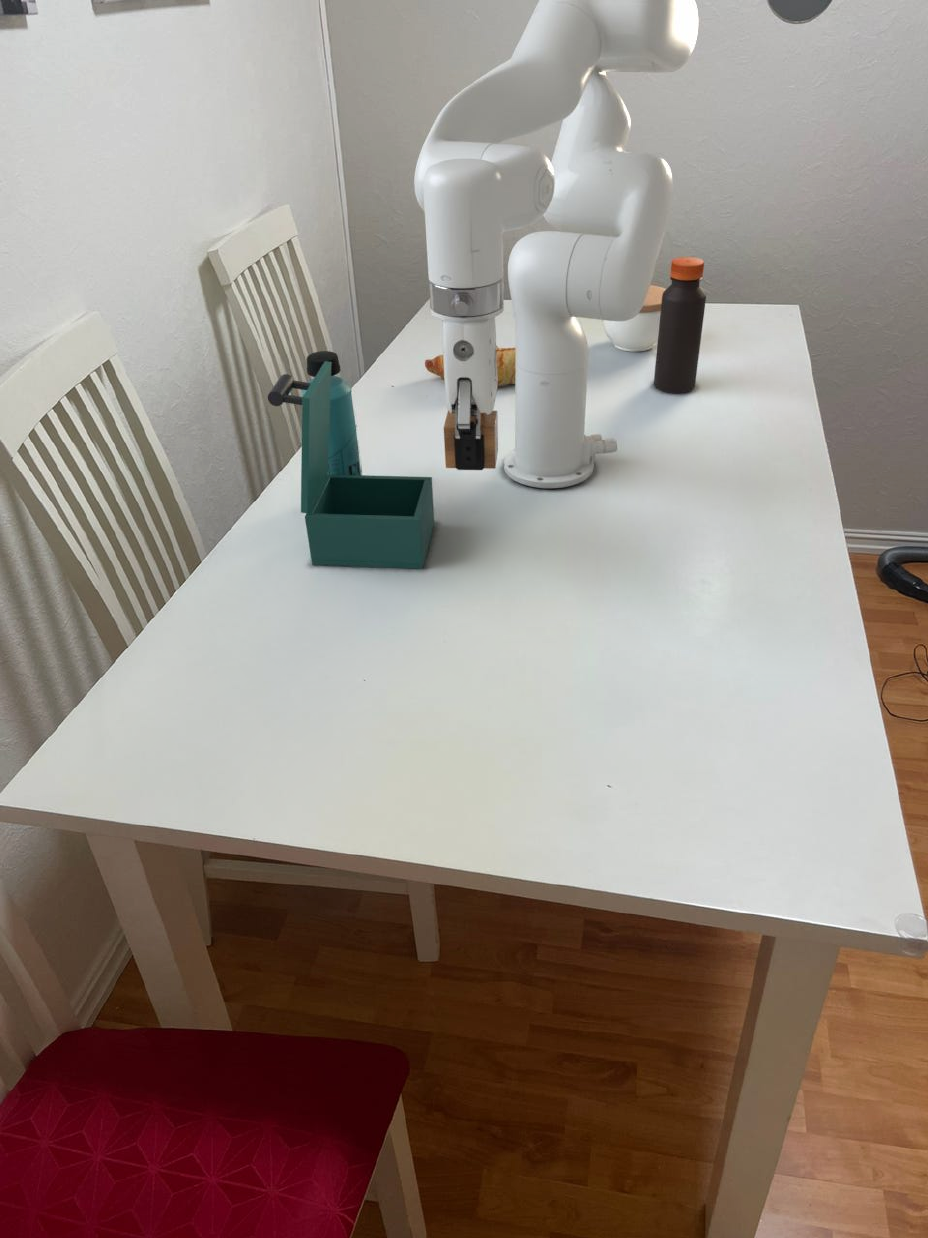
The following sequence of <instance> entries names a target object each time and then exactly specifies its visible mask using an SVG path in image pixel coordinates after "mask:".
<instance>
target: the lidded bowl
mask: <svg viewBox="0 0 928 1238" xmlns="http://www.w3.org/2000/svg"><path fill="white" fill-rule="evenodd" d="M666 289H667V288H664V287H661V286H658V285H651V284H650V287H649V290H648V294H647V297H646V299H645V302H644V304H643V306H642V309H641V310H640V312H639V313H638V314H637V315H636V316H635V317H634V318H632V319H630V320H627V321H608V320H601V322H602V327H603V331H604V333H605V335H606V336H607V338H608V339H609V340H610V342H612V343H613V346H614V348H615V349H618V350H620V351H624V352H631V353H634V352H635V353H636V352H637V353H638V352H645V351H649V350H651V349H652V348H653V347H654V345H656V343H658V333H659V323H660V313H661V302H662V295H663V292H664V291H665V290H666Z"/></svg>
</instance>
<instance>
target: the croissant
mask: <svg viewBox="0 0 928 1238" xmlns="http://www.w3.org/2000/svg"><path fill="white" fill-rule="evenodd" d="M496 352H497V374H498V385H497V387H502V386H507V385H515V365H516V347H506V348H505V347H499V346H498V345H497V344H496ZM424 366H425V368H426V370H427V372H429V373H431V374H434V375H436V376H437V377H440V378H441V379H442V380H444V381H445V379H444V362H443V354H439V355H437V356H435V357H434V358H433V359H429V358H428V359H425V361H424Z"/></svg>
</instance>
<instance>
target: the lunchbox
mask: <svg viewBox="0 0 928 1238" xmlns="http://www.w3.org/2000/svg"><path fill="white" fill-rule="evenodd" d="M434 507H435V506H434V491H433V476H408V475H407V476H404V475H403V476H402V475H369V474H368V475H365V474H364V475H363V474H362V475H329V474H326V476H325V478H324V480H323V482H322V484H321V487H320V489H319V491H318V493H317V495H316V497H315V499H314V501H313V503H312V505H311V507H310V509H309V511H308V513H305V515H304V521H305V528H306V534H307V541H308V547H309V553H310V554H309V555H310V560H311V565H312V566H328V567H329V566H330V567H331V566H332V567H356V568H357V567H358V568H361V567H362V568H386V569H388V568H389V569H411V570H413V569H415V570H417V569H418V570H423V569H424V565H425V562H426V558H427V554H428V550H429V546H430V543H431V538H432V534H433V531H434V527H435V510H434Z"/></svg>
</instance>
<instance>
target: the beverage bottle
mask: <svg viewBox="0 0 928 1238" xmlns="http://www.w3.org/2000/svg"><path fill="white" fill-rule="evenodd" d="M325 361H327V362H331V393H330V424H329V454H328V472H327V474H329V475H363V468H362V465H361V459H362V457H361V456H360V446H359V445H360V444H359V440H358V434H357V433H358V432H357V426H358V425H357V423H356V417H357V415H356V414H355V410H354V401H353V396H352V395H353V394H352V390H353V389H352V386H351V385H350V383H348V382H347V381H346V380H344V379H343V378H341V377H340V376H337V375H338V374H340V372H341V371H342V369H341V365H340V360H339V356H338V354H337V353H336V352H334V351H329V350H320V351H316V352H312V353H310V354H308V355H307V357H306V372H307V375H308V376H310V377H313V378H312V379H311V380H309V381H308V383H312V381H313V380H314V378H315V376H316V375H317V373H318V372H319V370H320V368H321V367H322V365H323V363H324V362H325ZM306 391H307V390H302V391H301V397H303V396H304V394H305V392H306Z"/></svg>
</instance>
